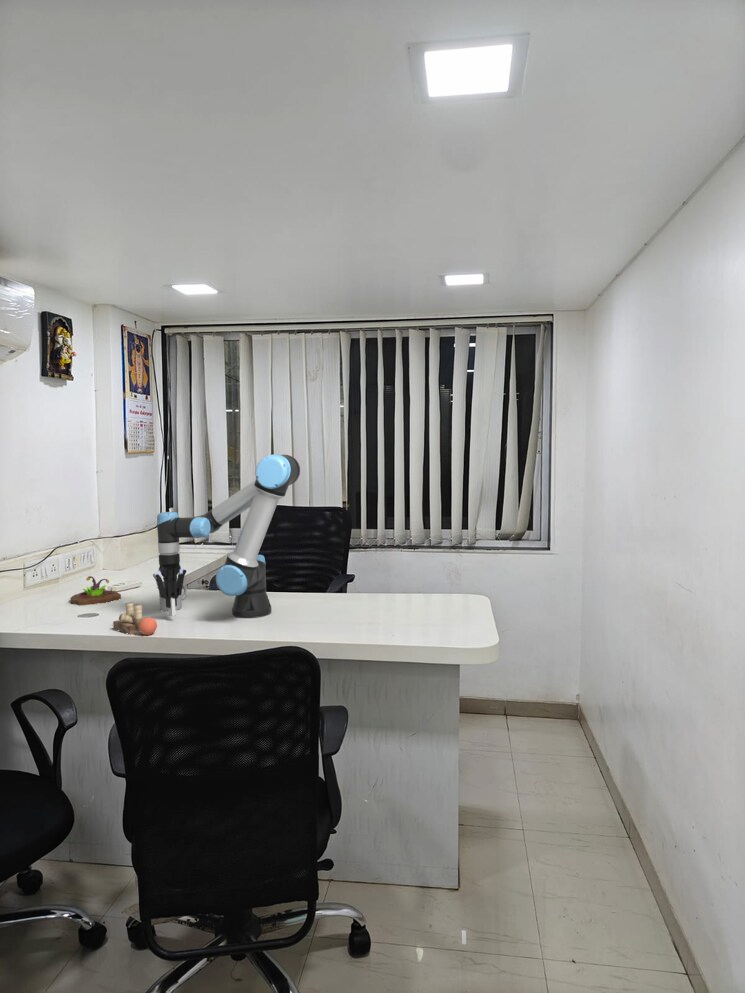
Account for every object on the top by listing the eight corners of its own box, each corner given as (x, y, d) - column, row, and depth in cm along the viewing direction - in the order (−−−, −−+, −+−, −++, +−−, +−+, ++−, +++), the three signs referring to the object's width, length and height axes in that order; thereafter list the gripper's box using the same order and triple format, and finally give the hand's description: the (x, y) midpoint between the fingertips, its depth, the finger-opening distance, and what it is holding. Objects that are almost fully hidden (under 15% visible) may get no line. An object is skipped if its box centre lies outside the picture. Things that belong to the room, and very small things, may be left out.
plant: (65, 600, 289) (64, 575, 289) (111, 594, 301) (110, 570, 300) (76, 608, 273) (75, 581, 273) (124, 601, 285) (123, 575, 284)
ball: (157, 621, 232) (159, 616, 227) (154, 637, 229) (156, 633, 224) (139, 619, 230) (141, 614, 225) (136, 635, 227) (138, 631, 222)
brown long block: (135, 633, 229) (135, 625, 228) (130, 635, 227) (129, 626, 227) (118, 628, 237) (118, 620, 236) (113, 629, 235) (113, 621, 235)
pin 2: (144, 630, 233) (143, 605, 233) (137, 631, 231) (136, 606, 231) (140, 629, 235) (139, 604, 234) (133, 630, 233) (132, 605, 232)
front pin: (146, 620, 237) (124, 613, 231) (143, 627, 236) (121, 620, 230) (142, 620, 239) (120, 613, 233) (140, 627, 238) (117, 620, 232)
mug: (168, 612, 260) (166, 585, 259) (155, 609, 265) (154, 583, 264) (193, 606, 269) (191, 580, 268) (180, 604, 274) (179, 578, 274)
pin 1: (135, 627, 237) (134, 603, 236) (129, 629, 235) (127, 604, 234) (132, 626, 239) (131, 602, 238) (125, 628, 237) (124, 603, 236)
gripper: (178, 550, 252) (181, 610, 253) (147, 554, 242) (150, 617, 244) (189, 552, 247) (192, 613, 248) (158, 556, 237) (161, 620, 239)
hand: (171, 615), depth 246 cm, fingers closed
